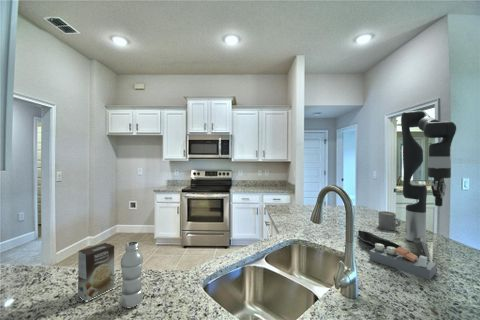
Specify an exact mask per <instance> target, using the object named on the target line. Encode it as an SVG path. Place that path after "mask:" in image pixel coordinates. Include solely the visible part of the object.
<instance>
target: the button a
mask: <svg viewBox="0 0 480 320" xmlns="http://www.w3.org/2000/svg"><path fill="white" fill-rule="evenodd" d="M374 248H375V250H377V251H384V245H383V244H379V243H376V244H375V245H374Z"/></svg>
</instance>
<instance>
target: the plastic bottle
mask: <svg viewBox="0 0 480 320" xmlns="http://www.w3.org/2000/svg"><path fill="white" fill-rule="evenodd" d="M124 251H125V253H124V254H123V256H122V258H121V260H120V268H121V274H122V275H121V276H122V286H121V292H120V297H119V299H120V300H119V301H120V305H121V307H122V306H123V307H132V306H134V305H137V304H139V303H140V304H141V302H142V301H143V296H144V292H143V288H142V287H143V286H142V285H143V284H142V268H143V263H144V256H143V254H142V253H141V252H140V250H139V242H138V241H129V242H127V243H126V244H125V249H124ZM140 304H139V305H140ZM137 306H138V305H137ZM123 307H122V308H123Z"/></svg>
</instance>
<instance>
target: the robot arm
mask: <svg viewBox="0 0 480 320" xmlns="http://www.w3.org/2000/svg"><path fill="white" fill-rule="evenodd" d="M400 117H401V118H400V124H401V132H402V133H401V134H402V167H403V168H402V170H403V179H402V195H403V198H404V199H409V200H416V201H417V200H418V201H417V202H414V203H410V204H406V205H405V240H407V241H410V242H412V243H414V238H420V236H423V238H424V241H425V243H427V195H428V187H427V184H423V183H414V182H413V183H412V182H411V179H412V177H413V175H414V174H415V173H416V171H417V170H418V169H419V168H420V167H421V165H422V164H423V162H424V151H423V147H422V146H421V145H420V143H418V141H417V140H416V139H415V138H414V137H413V135H412V133H411V129H412V128H419V129H418V130H420V131H422V132H423V135H424V136H425V137H426V138H428V139H441V138H442V139H441V141H440V142H435V143H431V144H429V146H428V159H427V160H428V161H427V177H428V178H431V179H432V178H433V180H432V182H431V188H430V189H431V192H432V196H433V197H434V205H435V206H436V207H442V206H443V200H444V199H443V198H444V196H445V194H446V189H447V182H446V181H445V179H450V178H451V177H452V161H451V147H452V143H453V139H454V137H455V135H456V132H457V125H456V124H455V123H454V122H453V121H450V120H449V121H440V120H439V119H436V118H433V117H431V115H429V114H428V113H427V112H426V111H424V110H412V111H404V112H402V113H401V115H400ZM410 128H411V129H410Z"/></svg>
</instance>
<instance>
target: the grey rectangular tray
mask: <svg viewBox="0 0 480 320" xmlns="http://www.w3.org/2000/svg"><path fill="white" fill-rule="evenodd" d="M371 259H372V260H371ZM369 260H371V261H373V262H376V261H377V263H379V264H382V265H386V266H387V267H391V268H393V267H394V268H393V269H397V270H399V271H402V272H404V273H408V274H410V273H411V274H410V275H413V274H414V276H416V275H417V276H416V277H419V278H422V279H426V280H429V281H430V279H431V280H432V278H433V277H434V276H435V275H436V273H437V263H435V262H432V261H428V260H427V266H426V267H422V266H419V257H418V258H417V259H416V260H415V261H414V262H412V261H410V260H409V259H407V258H405V257H403V256H402V255H400V254H398V253H397V254H396V255H391V254H388V253H387V248H384V251H377V250H375V247H374V248H372V249H370V250H369Z"/></svg>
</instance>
